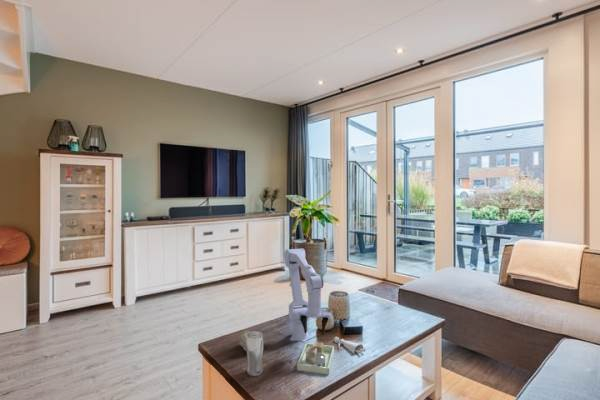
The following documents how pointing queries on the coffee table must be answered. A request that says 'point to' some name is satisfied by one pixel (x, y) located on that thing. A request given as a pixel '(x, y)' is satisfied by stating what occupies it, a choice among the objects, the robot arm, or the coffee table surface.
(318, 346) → the part oak
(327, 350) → the tray
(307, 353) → the part birch
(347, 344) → the woman figurine
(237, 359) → the coffee table surface
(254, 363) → the beer glass
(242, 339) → the fossil replica
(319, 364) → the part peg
